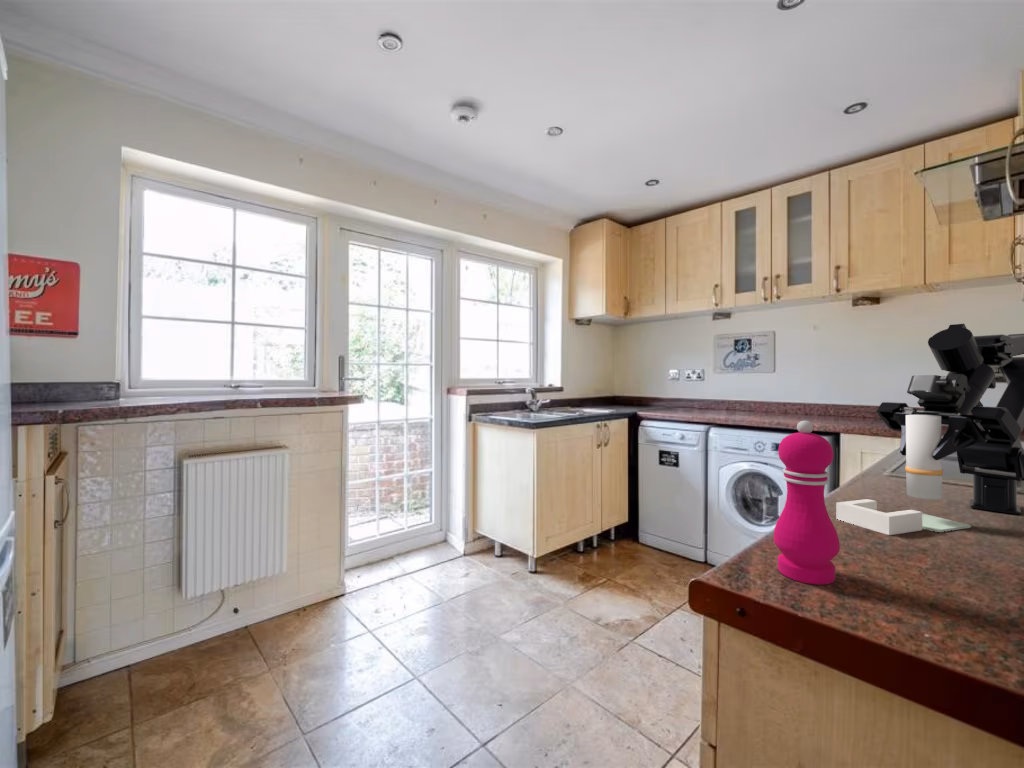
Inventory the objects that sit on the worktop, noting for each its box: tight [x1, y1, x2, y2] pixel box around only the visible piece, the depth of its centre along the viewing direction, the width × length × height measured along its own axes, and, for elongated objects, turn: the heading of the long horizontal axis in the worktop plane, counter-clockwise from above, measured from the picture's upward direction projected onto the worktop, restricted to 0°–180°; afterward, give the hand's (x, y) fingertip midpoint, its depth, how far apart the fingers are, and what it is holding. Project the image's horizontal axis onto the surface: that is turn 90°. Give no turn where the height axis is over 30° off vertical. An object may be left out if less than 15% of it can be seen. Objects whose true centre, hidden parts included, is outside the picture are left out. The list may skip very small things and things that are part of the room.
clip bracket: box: [835, 498, 923, 536], centre depth 79 cm, size 8×9×3 cm
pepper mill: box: [773, 420, 841, 586], centre depth 59 cm, size 7×7×20 cm
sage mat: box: [922, 512, 972, 533], centre depth 79 cm, size 8×8×1 cm
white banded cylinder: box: [904, 415, 944, 501], centre depth 79 cm, size 5×5×14 cm
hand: (917, 456), depth 79 cm, fingers closed on white banded cylinder, 5 cm apart
